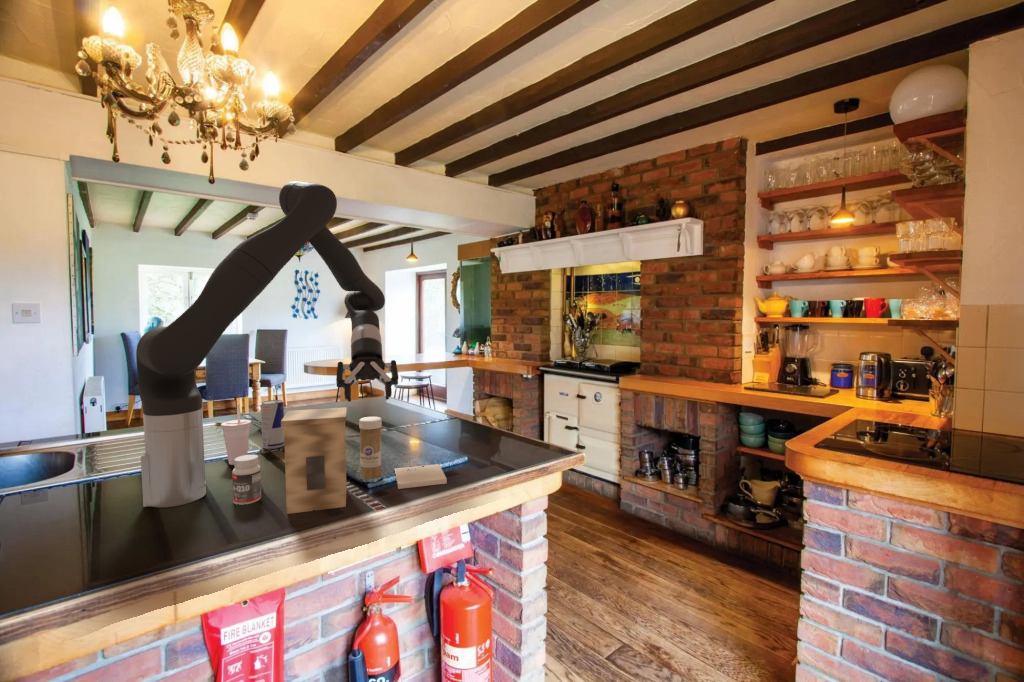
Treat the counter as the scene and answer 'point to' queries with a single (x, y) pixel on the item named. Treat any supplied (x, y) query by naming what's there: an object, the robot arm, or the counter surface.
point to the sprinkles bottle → (370, 447)
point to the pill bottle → (246, 480)
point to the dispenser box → (315, 459)
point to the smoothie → (236, 437)
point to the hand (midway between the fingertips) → (368, 398)
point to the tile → (420, 476)
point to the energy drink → (272, 424)
